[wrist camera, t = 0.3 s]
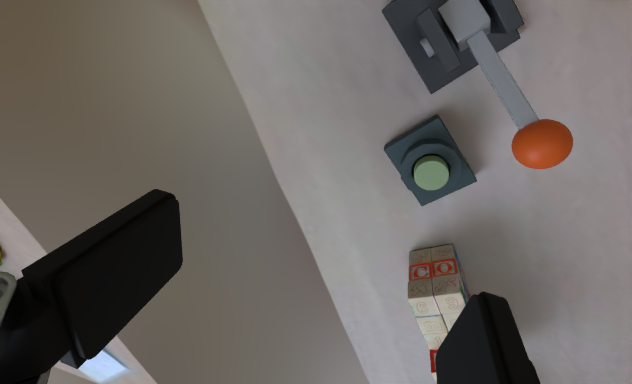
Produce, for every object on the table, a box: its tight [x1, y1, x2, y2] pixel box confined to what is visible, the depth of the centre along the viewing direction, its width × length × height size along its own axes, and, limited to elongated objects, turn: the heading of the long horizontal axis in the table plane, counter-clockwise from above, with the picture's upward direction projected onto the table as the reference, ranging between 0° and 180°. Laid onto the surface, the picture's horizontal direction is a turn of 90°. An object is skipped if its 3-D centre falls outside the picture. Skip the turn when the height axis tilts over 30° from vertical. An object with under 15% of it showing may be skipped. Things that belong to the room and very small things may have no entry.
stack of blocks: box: [408, 244, 470, 383], centre depth 41 cm, size 21×6×12 cm, turn 25°
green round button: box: [414, 155, 449, 190], centre depth 34 cm, size 4×4×2 cm
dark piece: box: [384, 114, 477, 206], centre depth 36 cm, size 9×7×4 cm
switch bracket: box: [382, 0, 524, 94], centre depth 25 cm, size 10×9×13 cm
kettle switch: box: [438, 0, 573, 169], centre depth 21 cm, size 13×3×3 cm, turn 37°
